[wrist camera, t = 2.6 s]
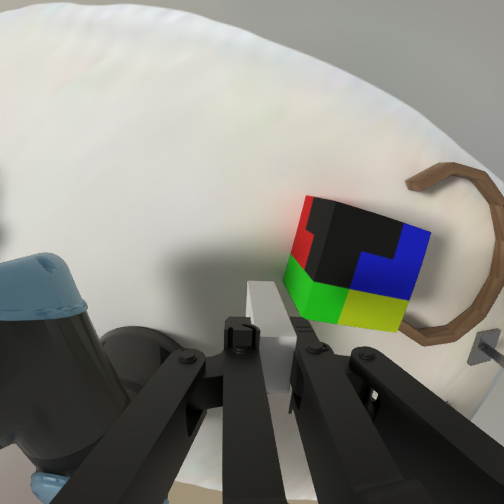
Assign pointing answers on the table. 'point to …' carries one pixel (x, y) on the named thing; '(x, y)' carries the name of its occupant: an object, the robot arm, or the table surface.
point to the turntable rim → (500, 270)
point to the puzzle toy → (353, 265)
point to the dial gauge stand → (485, 348)
